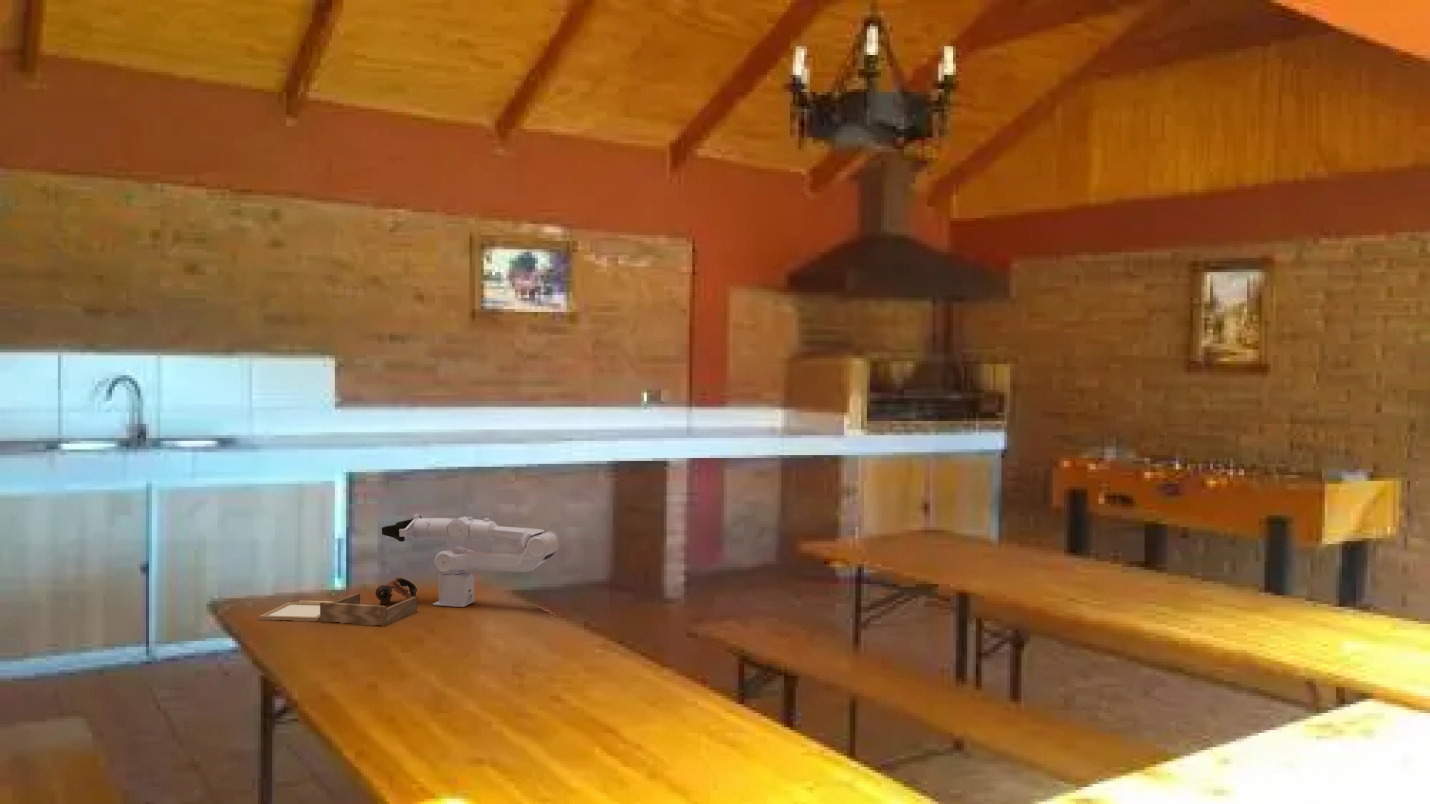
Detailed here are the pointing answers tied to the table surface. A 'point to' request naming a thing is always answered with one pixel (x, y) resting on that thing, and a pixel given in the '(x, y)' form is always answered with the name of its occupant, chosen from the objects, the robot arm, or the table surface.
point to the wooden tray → (365, 611)
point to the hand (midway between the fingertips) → (389, 528)
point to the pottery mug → (397, 587)
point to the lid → (295, 611)
